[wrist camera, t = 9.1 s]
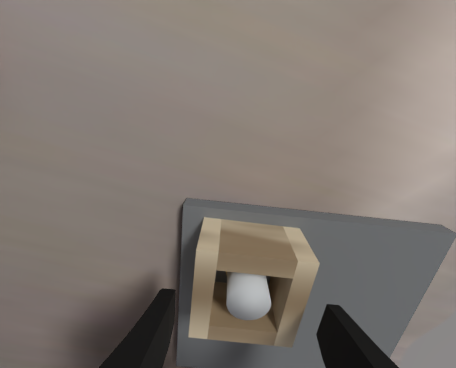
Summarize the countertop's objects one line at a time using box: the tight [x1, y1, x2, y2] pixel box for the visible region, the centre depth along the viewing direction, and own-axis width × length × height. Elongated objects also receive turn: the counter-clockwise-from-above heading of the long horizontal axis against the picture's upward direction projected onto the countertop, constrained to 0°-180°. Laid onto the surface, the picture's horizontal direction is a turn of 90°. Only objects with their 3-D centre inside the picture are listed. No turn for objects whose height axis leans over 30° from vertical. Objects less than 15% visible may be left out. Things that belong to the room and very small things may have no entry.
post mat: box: [176, 198, 456, 368], centre depth 14 cm, size 14×16×4 cm
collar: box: [188, 217, 320, 348], centre depth 12 cm, size 6×6×3 cm
